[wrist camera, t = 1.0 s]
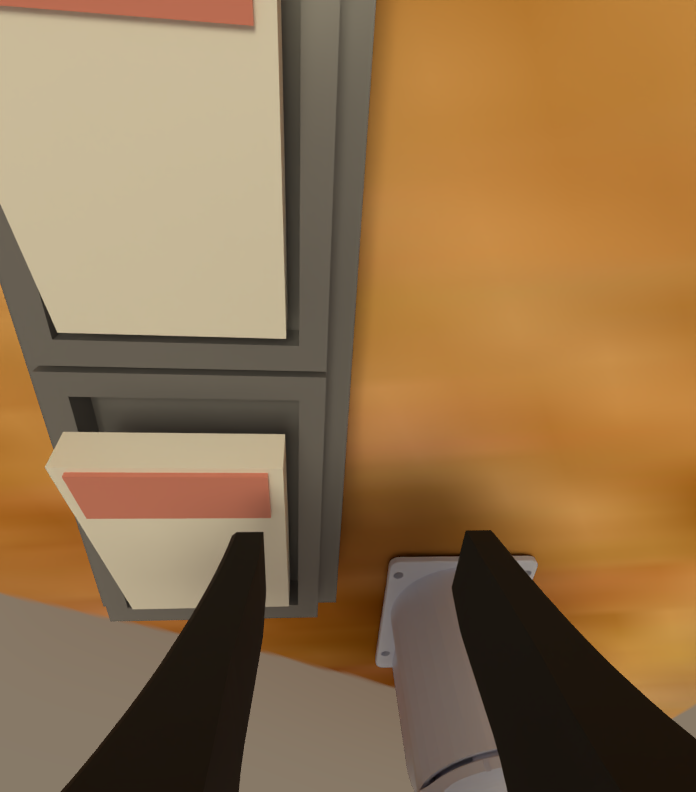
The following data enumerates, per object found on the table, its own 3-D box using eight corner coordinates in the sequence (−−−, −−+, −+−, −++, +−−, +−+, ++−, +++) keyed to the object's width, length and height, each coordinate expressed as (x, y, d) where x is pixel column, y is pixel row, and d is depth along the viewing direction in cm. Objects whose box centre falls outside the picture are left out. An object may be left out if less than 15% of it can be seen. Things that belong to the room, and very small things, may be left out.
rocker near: (288, 313, 14) (285, 342, 13) (74, 307, 13) (55, 336, 12) (277, -158, 8) (271, -171, 7) (-128, -204, 7) (-199, -225, 6)
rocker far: (290, 577, 20) (288, 610, 19) (141, 579, 19) (131, 613, 18) (285, 434, 13) (282, 473, 12) (62, 431, 13) (41, 472, 12)
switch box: (333, 541, 24) (336, 626, 20) (130, 543, 23) (92, 632, 19) (371, -134, 12) (400, -264, 8) (-49, -180, 11) (-257, -352, 7)
